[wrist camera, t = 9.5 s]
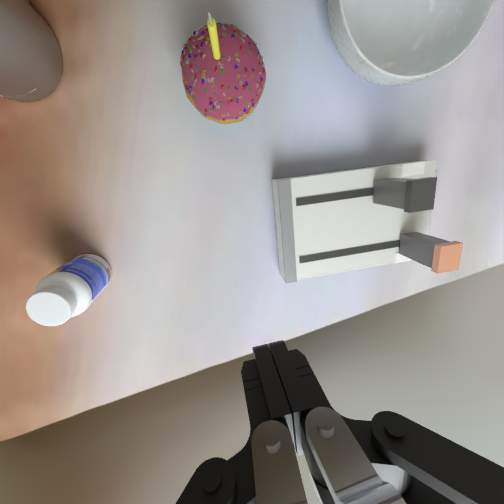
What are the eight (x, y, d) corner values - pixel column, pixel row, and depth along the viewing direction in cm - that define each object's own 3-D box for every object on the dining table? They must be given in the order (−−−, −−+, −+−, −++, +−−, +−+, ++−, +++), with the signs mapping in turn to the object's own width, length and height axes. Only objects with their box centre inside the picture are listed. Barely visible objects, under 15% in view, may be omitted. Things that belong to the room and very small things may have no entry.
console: (271, 179, 34) (277, 180, 31) (419, 160, 36) (439, 159, 33) (279, 273, 38) (286, 283, 35) (411, 251, 41) (428, 258, 38)
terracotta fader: (399, 232, 36) (441, 246, 29) (417, 229, 36) (462, 243, 29) (397, 255, 37) (437, 273, 30) (415, 252, 37) (458, 269, 30)
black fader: (372, 178, 33) (412, 180, 26) (392, 175, 33) (436, 177, 26) (371, 204, 34) (409, 212, 27) (390, 201, 34) (433, 209, 27)
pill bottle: (80, 245, 33) (28, 274, 24) (120, 265, 34) (86, 299, 25) (62, 278, 34) (7, 318, 25) (102, 296, 35) (64, 340, 26)
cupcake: (169, 84, 29) (142, 29, 18) (222, 27, 28) (229, -70, 17) (222, 144, 32) (228, 130, 20) (272, 94, 31) (306, 50, 19)
